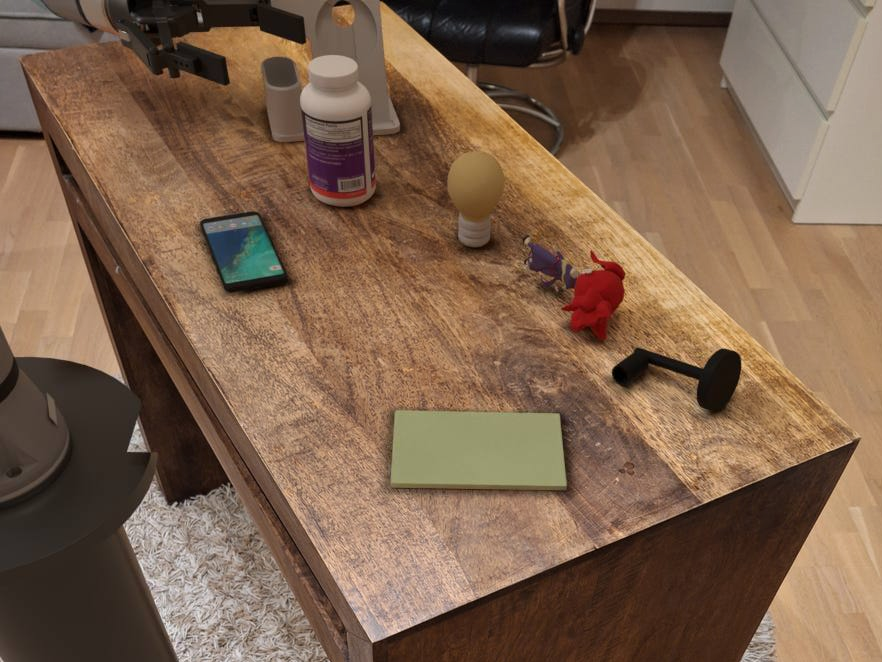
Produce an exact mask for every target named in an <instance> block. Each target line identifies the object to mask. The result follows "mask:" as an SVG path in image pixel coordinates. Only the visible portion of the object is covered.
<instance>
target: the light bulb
mask: <svg viewBox="0 0 882 662" xmlns="http://www.w3.org/2000/svg"><path fill="white" fill-rule="evenodd" d="M446 183H447V184H446V185H447V192H448V195H449V198H450V200H451V202H452V203H453V205H454V206H455V207H456V209H457V210H458V211H459V214H458V225H457V226H458V227H457V229H458V233H457V237H458V240H459V241H460V243H462V244H463V245H464V246H466V247H470V248H480V247H483V246H484V245H487V244H488V243H489V241H490V239H491V227H492V225H491V222H492V216H491V213H492V212H493V211H494V210H495V208H496V207H497V206H498V204H499V203H500V202H501V200H502V197H503V195H504V192H505V186H506V185H505V184H506V182H505V173H504V170H503V167H502V166H501V164H500V162H499V160H497V158H495V156H493V155H491V154H489V153H486V152H483V151H476V150H473V151H467V152H464V153H462V154H461V155H459V156H458V157H457V158H456V159H455V160H454V161H453V163H452V165H451V166H450V169H449V171H448V175H447V181H446Z"/></svg>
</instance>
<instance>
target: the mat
mask: <svg viewBox="0 0 882 662" xmlns="http://www.w3.org/2000/svg"><path fill="white" fill-rule="evenodd" d="M393 420H394V422H393V423H394V424H393V436H392V437H393V438H392V453H391V466H390V467H391V469H390V470H391V471H390V488H396V489H397V488H398V489H399V488H400V489H456V490H458V489H459V490H511V491H512V490H513V491H514V490H515V491H516V490H521V491H567V487H568V483H567V475H566V473H567V472H566V463H565V455H564V454H565V453H564V443H563V433H562V423H561V414H560V413H555V412H554V413H552V412H509V411H507V412H505V411H503V412H502V411H456V410H455V411H454V410H409V409H408V410H406V409H405V410H404V409H403V410H401V409H400V410H399V409H396V410H394V419H393Z"/></svg>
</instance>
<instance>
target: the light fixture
mask: <svg viewBox="0 0 882 662" xmlns="http://www.w3.org/2000/svg"><path fill="white" fill-rule="evenodd" d="M742 364H743V363H742V358H741V355H740V354H739V352H737V351H736V350H732V349H729V348H724V347H722V348H719V349H718V350H715V352H713V353H712V354H711V356H710V357H709V358H708V360H706V363H704V366H703V367H699V366H696V365H694V364H692V363H691V364H690V363H688V362H684V361H681V360H679V359H675V358H672V357H669V356H666V355H664V354H663V355H662V354H660V353H657V352H653V351H650V350H648V349H645V348H642V347H638V346H637V347H636V348H635V349H634V350H633V352H632V353H631V354H629V355H628V356H627V357H625V358H624V359H622V360H621V361H620V362H618V363H617V364H616V365H614V366H613V367H612V369H611V376H612V378H611V379H613V382H612V384H614V383H616V384H618V385H619V386H621V387H626V386H628V385H629V384H630V383H632V382H633V381H634V380H635V379H636V378H638V377H639V376H641V375H642V374H643V373H645V372H646V371H648V369H649V365H653V366H655V367H658V368H661V369H665V370H666V371H670V372H673V373H677V374H679V375H681V376H685V377H688V378H691V379H694V380H697V381H698V382H697V386H696V401H697V404H698V407H700V408H701V409H703V410H705V411H708V412H712V413H716V412H719V411H721V410H722V409H723V408H724V407H725V406H726V405H727V404H728V403H729V402H730V400H731V398H733V396H734V394H735V391H736V389H737V387H738V384H739V381H740V379H741V373H742ZM611 379H610V380H611ZM607 382H609V380H607V381H606V383H607ZM597 390H598V388H597V389H595V391H597ZM593 392H594V391H593ZM593 392H592V393H593ZM592 393H591V394H592ZM590 396H591V395H589V397H588V400H592V399H593V398H591V397H590Z"/></svg>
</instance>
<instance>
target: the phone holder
mask: <svg viewBox="0 0 882 662" xmlns="http://www.w3.org/2000/svg"><path fill="white" fill-rule="evenodd" d="M339 1H341V0H271V6H272V7H275V8H278V9H281V10H284V11H287V12H290V13H293V14H296V15H299V16H303V17H304V25H305V34H306V40H307V41H308V42H309V44H310V50H311V57H312V59H311V60H313V59H315V58H317V57H321V56H326V55H339V56H345V57H348V58H351V59H352V60H354V61H355V62H356V63H357V65H358V75H359V78H358V82H360V83H361V84H362V85H364V86H365V88H366V89H367V90H368V92H369V94H370V97H371V108H372V125H373V136H385V135H394V134H398V133H399V132H400V131H401V123H400V120H399V118H398V114H397V112H396V110H395V106H394V105H393V102H392V100H391V97H389V92H388V79H387V69H386V59H385V47H384V35H383V23H382V12H381V1H380V0H344V2H347V3H348V4H349V5H351V7H352V9H353V12H354V18H353V21H352V23H351V24H350V25H349V26H345V27H343V26H340V25H339V24H337V22H335V19H334V17H333V8H334V6H335V5H336V4H337V3H338V2H339ZM260 71H261V77H262V83H263V90H264V98H265V104H266V113H267V116H268V117H267V118H268V123H269V126H270V131H271V136H272V139H273V140H274V141H276V142H278V143H291V142H292V143H293V142H305V139H304V130H303V122H302V113H301V105H300V96H301V93H302V91H303V88H302V82H301V77H300V75H299V72H298V68H297V63H296V62H295V61H294V60H293V59H291V58H289V57H285V56H271V57H268V58H265V59H264V60H263V61H262V62H261V64H260Z"/></svg>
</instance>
